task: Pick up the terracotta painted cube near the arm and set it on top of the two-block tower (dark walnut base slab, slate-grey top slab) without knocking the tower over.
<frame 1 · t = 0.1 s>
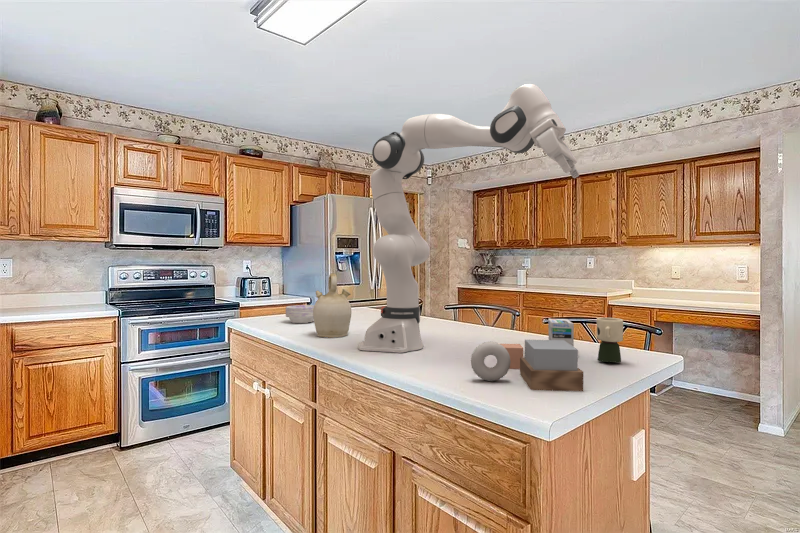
hand: (572, 174, 123), 54 cm above the counter, tool tilted 30°, fingers open, 8 cm apart
paper bowls: (301, 322, 216), on the counter
jug: (332, 335, 180), on the counter
terracotta cube: (510, 366, 129), on the counter
character mug: (609, 363, 133), on the counter
light bulb box: (560, 354, 146), on the counter
donut: (490, 381, 113), on the counter
walnut base block: (549, 384, 112), on the counter, touching grey top block
grey top block: (549, 364, 112), point 5 cm above the counter, touching walnut base block
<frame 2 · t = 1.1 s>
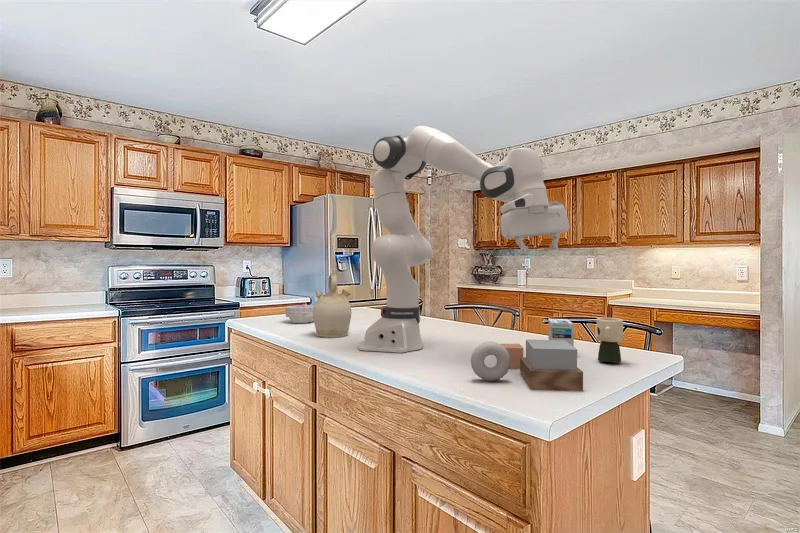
hand: (539, 251, 125), 33 cm above the counter, tool pointing down, fingers open, 8 cm apart
nothing on the counter moved.
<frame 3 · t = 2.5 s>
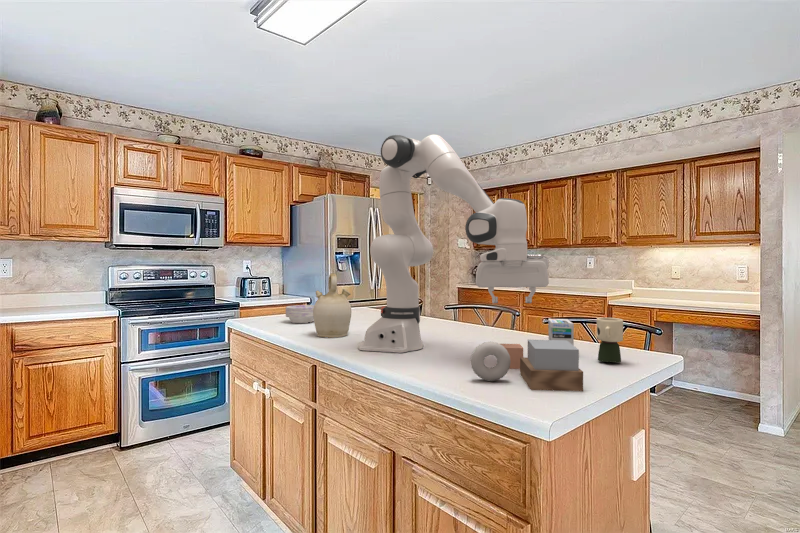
hand: (511, 303, 128), 18 cm above the counter, tool pointing down, fingers open, 8 cm apart
nothing on the counter moved.
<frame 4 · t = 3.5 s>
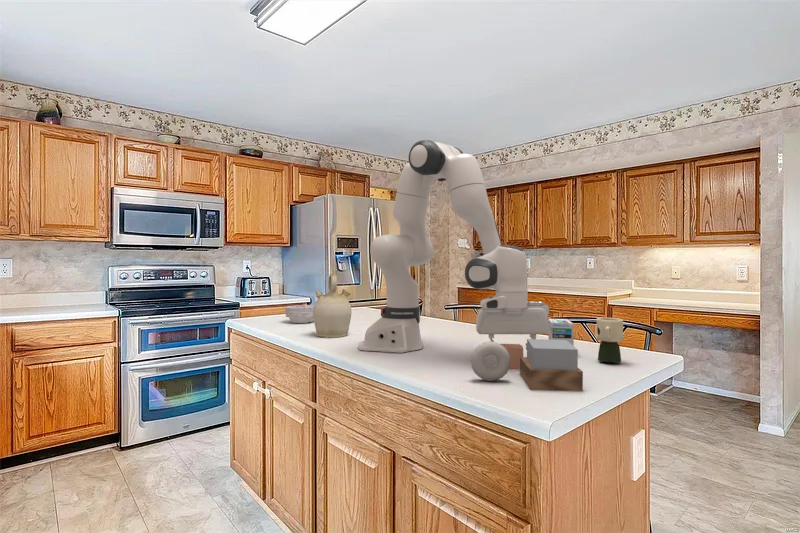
hand: (512, 349, 128), 5 cm above the counter, tool pointing down, fingers open, 8 cm apart
nothing on the counter moved.
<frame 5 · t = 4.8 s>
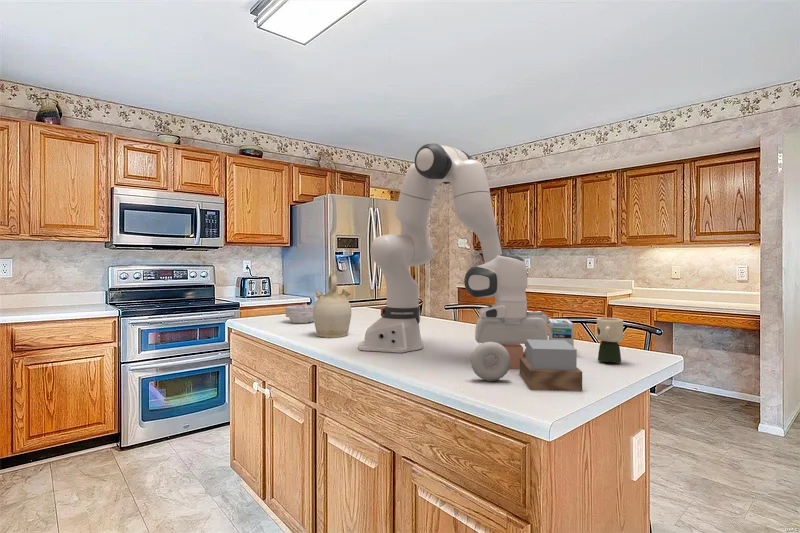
hand: (510, 358, 129), 2 cm above the counter, tool pointing down, fingers closed on terracotta cube, 6 cm apart
terracotta cube: (510, 366, 129), on the counter, touching gripper
everything else where it was.
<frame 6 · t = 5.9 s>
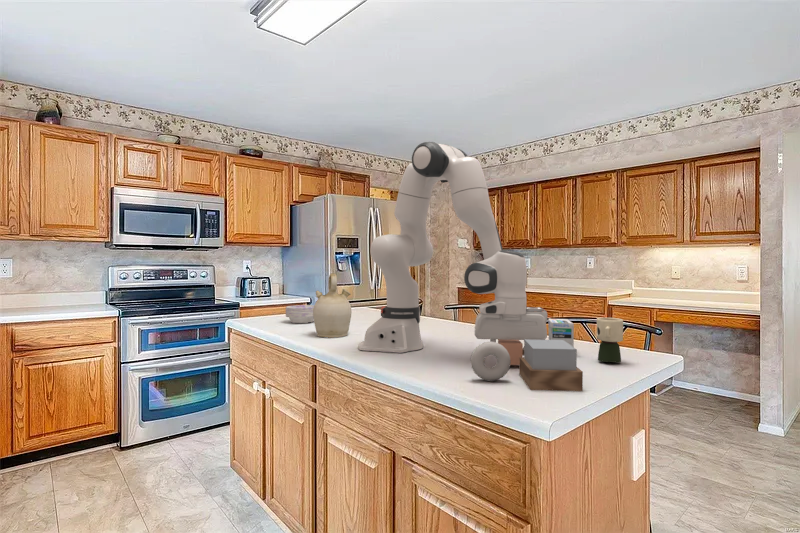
hand: (509, 354, 129), 3 cm above the counter, tool pointing down, fingers closed on terracotta cube, 6 cm apart
terracotta cube: (509, 362, 129), point 1 cm above the counter, touching gripper
everything else where it was.
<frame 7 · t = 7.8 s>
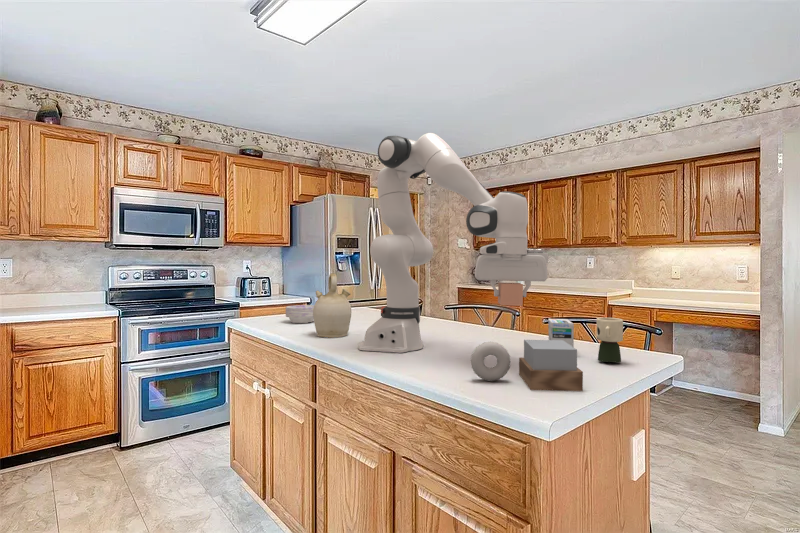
hand: (510, 296, 128), 20 cm above the counter, tool pointing down, fingers closed on terracotta cube, 6 cm apart
terracotta cube: (509, 304, 129), point 18 cm above the counter, touching gripper
everything else where it was.
when the fingers open (14 cm above the counter, at t = 13.1 s): terracotta cube drops 2 cm, point 10 cm above the counter.
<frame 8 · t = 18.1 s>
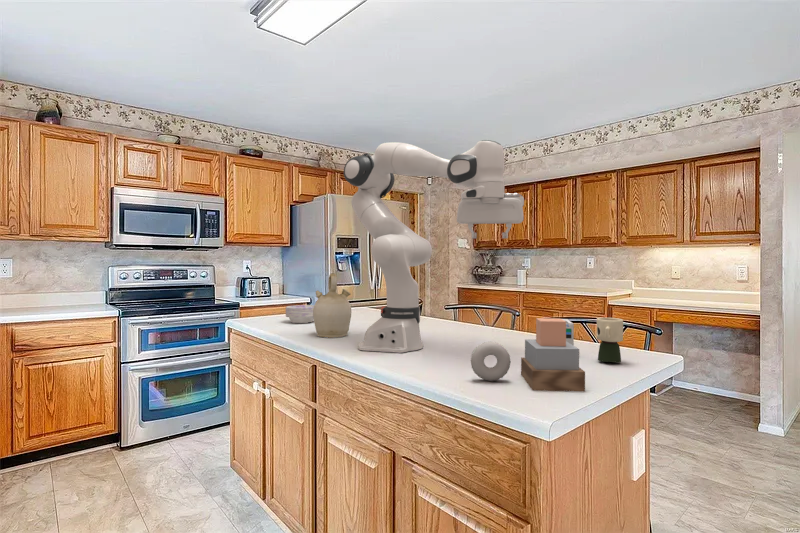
hand: (489, 238, 138), 37 cm above the counter, tool pointing down, fingers open, 8 cm apart
terracotta cube: (550, 343, 112), point 10 cm above the counter
everything else where it was.
at the end: terracotta cube 0.1 cm off-centre on the grey top block, point 5.0 cm above the grey top block's base; grey top block moved 0.5 cm from its start; terracotta cube tilted 0° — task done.
